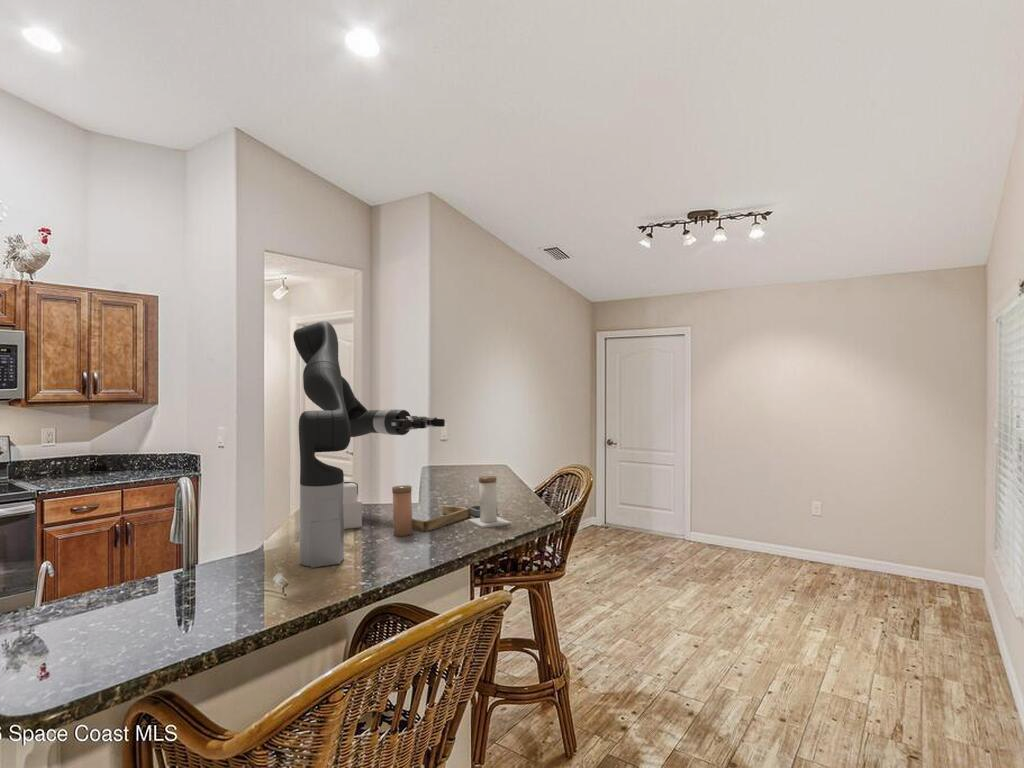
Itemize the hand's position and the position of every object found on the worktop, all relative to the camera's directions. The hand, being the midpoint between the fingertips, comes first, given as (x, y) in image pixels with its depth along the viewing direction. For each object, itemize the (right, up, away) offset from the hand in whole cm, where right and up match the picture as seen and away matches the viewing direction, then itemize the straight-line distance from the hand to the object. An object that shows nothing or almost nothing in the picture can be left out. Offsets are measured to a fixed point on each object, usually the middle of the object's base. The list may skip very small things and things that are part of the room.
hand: (434, 423), depth 164 cm
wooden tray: (0, -28, 0) cm, 28 cm away
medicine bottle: (-24, -28, -4) cm, 37 cm away
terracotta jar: (-6, -28, -13) cm, 31 cm away
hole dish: (+13, -28, +10) cm, 32 cm away
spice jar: (+15, -27, -1) cm, 31 cm away
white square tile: (+15, -28, -1) cm, 32 cm away
